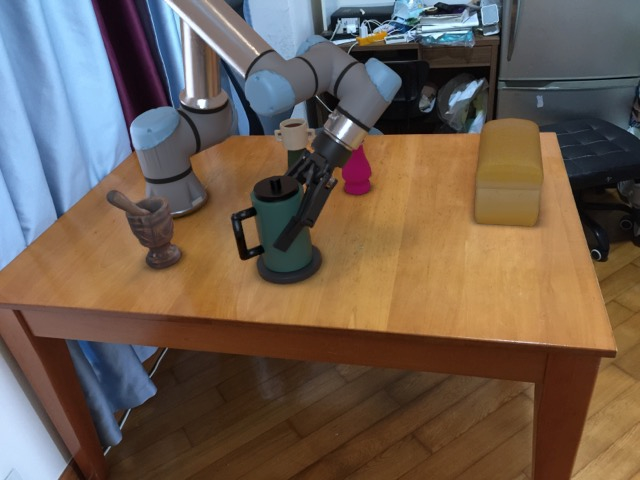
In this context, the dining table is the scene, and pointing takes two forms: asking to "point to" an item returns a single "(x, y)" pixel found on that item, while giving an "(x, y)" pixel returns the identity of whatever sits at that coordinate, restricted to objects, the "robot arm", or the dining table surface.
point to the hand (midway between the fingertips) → (271, 234)
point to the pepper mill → (357, 173)
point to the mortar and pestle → (150, 226)
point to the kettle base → (293, 275)
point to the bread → (508, 173)
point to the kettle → (274, 224)
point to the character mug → (294, 137)
